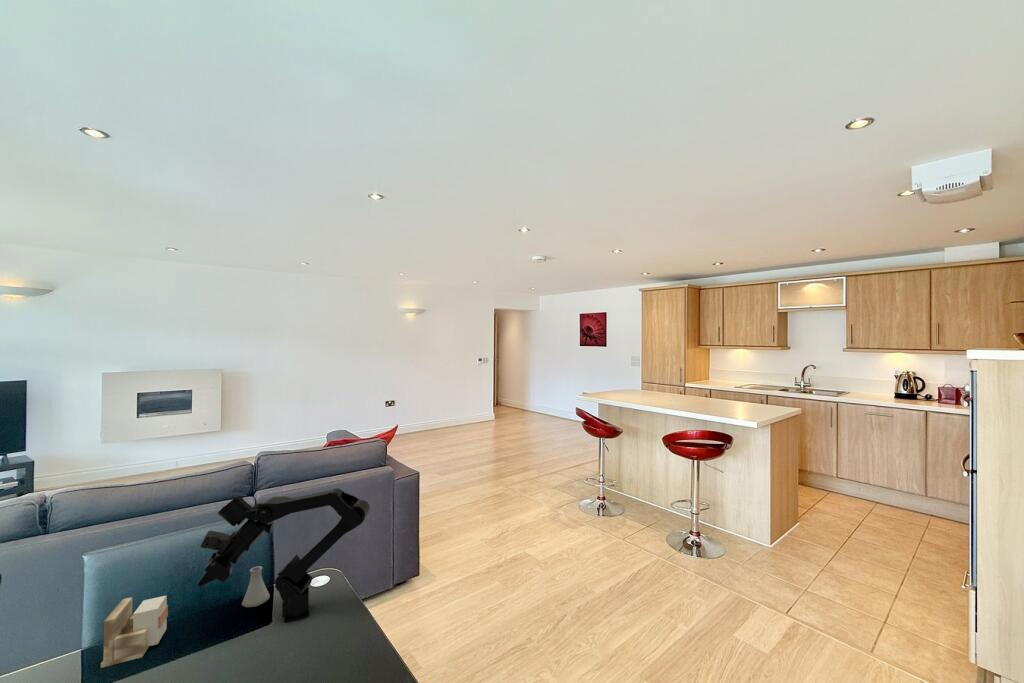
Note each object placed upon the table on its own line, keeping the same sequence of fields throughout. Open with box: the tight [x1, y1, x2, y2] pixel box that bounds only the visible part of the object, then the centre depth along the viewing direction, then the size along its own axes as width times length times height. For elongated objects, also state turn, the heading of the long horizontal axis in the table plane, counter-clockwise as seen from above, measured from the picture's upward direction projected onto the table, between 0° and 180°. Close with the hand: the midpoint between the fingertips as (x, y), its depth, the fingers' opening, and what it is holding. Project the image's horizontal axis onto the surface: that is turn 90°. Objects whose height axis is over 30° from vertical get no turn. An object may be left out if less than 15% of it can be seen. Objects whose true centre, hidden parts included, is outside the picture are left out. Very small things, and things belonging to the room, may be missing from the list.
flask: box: [241, 565, 271, 608], centre depth 129 cm, size 7×7×10 cm
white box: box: [132, 594, 169, 648], centre depth 111 cm, size 5×7×9 cm
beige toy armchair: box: [100, 596, 150, 669], centre depth 109 cm, size 8×11×11 cm
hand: (198, 585), depth 116 cm, fingers closed
